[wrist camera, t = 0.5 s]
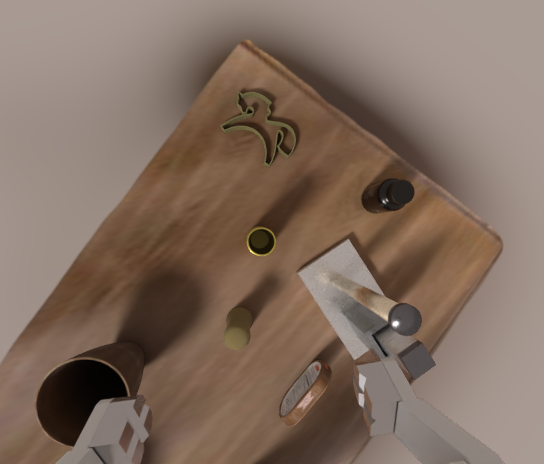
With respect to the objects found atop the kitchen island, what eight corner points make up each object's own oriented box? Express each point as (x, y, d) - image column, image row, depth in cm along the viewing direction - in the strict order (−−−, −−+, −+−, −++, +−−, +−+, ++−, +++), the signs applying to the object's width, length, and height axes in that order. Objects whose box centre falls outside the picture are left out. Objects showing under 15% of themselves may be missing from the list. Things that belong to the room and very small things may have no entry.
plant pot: (114, 312, 60) (63, 342, 44) (174, 342, 61) (146, 382, 45) (80, 372, 59) (16, 424, 43) (141, 402, 60) (101, 463, 44)
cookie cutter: (213, 125, 61) (212, 121, 59) (246, 85, 62) (246, 80, 60) (274, 175, 62) (275, 173, 60) (306, 135, 63) (308, 132, 61)
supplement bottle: (370, 219, 64) (397, 216, 52) (355, 194, 63) (378, 186, 51) (393, 203, 64) (426, 197, 52) (379, 179, 64) (408, 167, 52)
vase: (244, 228, 62) (241, 227, 47) (270, 224, 62) (276, 222, 48) (248, 254, 62) (246, 261, 47) (274, 250, 62) (281, 256, 48)
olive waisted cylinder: (248, 303, 62) (247, 319, 51) (255, 328, 62) (256, 349, 51) (223, 311, 61) (216, 328, 50) (230, 336, 61) (225, 359, 50)
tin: (285, 410, 62) (290, 438, 54) (274, 401, 62) (278, 428, 54) (326, 360, 63) (338, 379, 55) (316, 351, 63) (326, 370, 54)
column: (376, 320, 61) (436, 364, 41) (361, 331, 61) (414, 380, 41) (366, 305, 61) (422, 342, 41) (351, 316, 61) (400, 358, 41)
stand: (399, 322, 64) (516, 396, 36) (351, 356, 63) (431, 459, 35) (345, 238, 63) (422, 245, 35) (296, 271, 62) (332, 306, 34)
